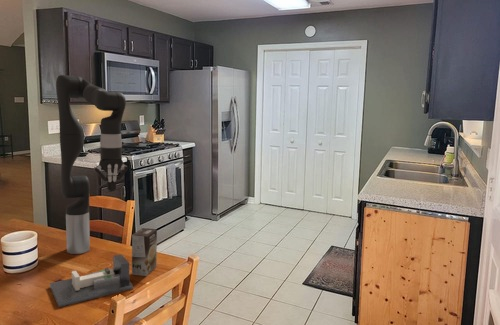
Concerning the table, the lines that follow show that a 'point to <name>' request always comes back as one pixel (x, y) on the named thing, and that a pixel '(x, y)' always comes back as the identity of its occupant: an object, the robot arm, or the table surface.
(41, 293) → the table surface
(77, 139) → the robot arm
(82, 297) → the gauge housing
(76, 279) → the plunger
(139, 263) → the coffee box
